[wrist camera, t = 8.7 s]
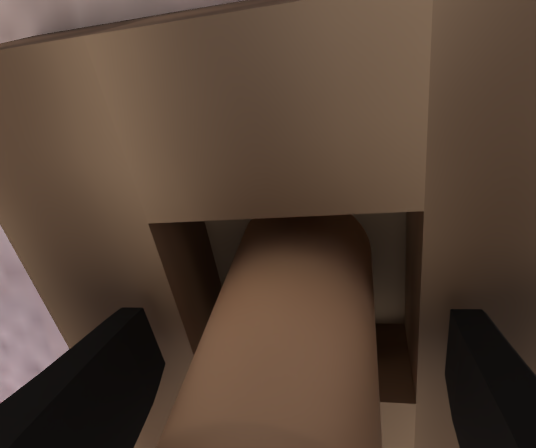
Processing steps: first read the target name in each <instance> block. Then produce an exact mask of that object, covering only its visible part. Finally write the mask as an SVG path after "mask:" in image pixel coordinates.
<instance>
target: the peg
mask: <svg viewBox="0 0 536 448" xmlns="http://www.w3.org/2000/svg"><path fill="white" fill-rule="evenodd" d="M156 448H382V432H381V414H380V397H379V379H378V361H377V344H376V326H375V308H374V291H373V273H372V255H371V246H370V242H369V239H368V236H367V234H366V232H365V230H364V228H363V227H362V225H361V224H360V223H359V222H358V221H357V220H356V218H355V217H354V216H352V215H351V214H349V215H327V216H304V217H282V218H260V219H251V221H250V222H249V224H248V225H247V228H246V230H245V232H244V234H243V237H242V239H241V242H240V244H239V247H238V249H237V251H236V254H235V256H234V259H233V261H232V264H231V266H230V269H229V271H228V273H227V276H226V278H225V281H224V283H223V286H222V288H221V291H220V293H219V295H218V298H217V300H216V303H215V305H214V308H213V310H212V313H211V315H210V317H209V320H208V322H207V325H206V327H205V330H204V332H203V335H202V337H201V339H200V342H199V344H198V347H197V349H196V352H195V354H194V357H193V359H192V361H191V364H190V366H189V369H188V371H187V374H186V376H185V379H184V381H183V383H182V386H181V388H180V391H179V393H178V396H177V398H176V401H175V403H174V405H173V408H172V410H171V413H170V415H169V418H168V420H167V423H166V425H165V427H164V430H163V432H162V435H161V437H160V440H159V442H158V445H157V447H156Z"/></svg>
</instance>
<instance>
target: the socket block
mask: <svg viewBox="0 0 536 448" xmlns="http://www.w3.org/2000/svg"><path fill="white" fill-rule="evenodd" d="M349 214H351V215H352V216H354V217H355V218H356V220H357V221H358V222H359V223H360V224H361V225H362V227H363V228H364V230H365V232H366V234H367V236H368V239H369V242H370V246H371V255H372V273H373V291H374V308H375V326H376V344H377V361H378V379H379V397H380V414H381V432H382V448H460V447H459V444H458V440H457V436H456V433H455V429H454V425H453V422H452V416H451V410H450V405H449V399H448V392H447V386H446V380H445V364H446V353H447V342H448V331H449V320H450V309H482V310H483V311H484V312H486V313H487V314H488V316H489V317H490V318H491V320H492V321H493V322H494V324H495V325H496V326H497V328H498V329H499V330H500V332H501V333H502V334H503V335H504V337H505V338H506V339H507V341H508V342H509V343H510V344H511V346H512V347H513V348H514V349H515V350H516V352H517V353H518V354H519V355H520V357H521V358H522V359H523V360H524V361H525V363H526V364H527V365H528V366H529V367H530V369H531V370H532V371H533V372H534V373H535V374H536V0H245V1H239V2H233V3H227V4H221V5H215V6H209V7H203V8H198V9H192V10H186V11H180V12H174V13H168V14H162V15H156V16H150V17H144V18H138V19H132V20H126V21H120V22H114V23H108V24H102V25H96V26H90V27H84V28H78V29H72V30H66V31H60V32H54V33H48V34H43V35H37V36H32V37H28V38H23V39H19V40H14V41H10V42H6V43H1V44H0V225H1V226H2V228H3V230H4V232H5V234H6V235H7V237H8V239H9V241H10V243H11V244H12V246H13V248H14V250H15V252H16V253H17V255H18V257H19V259H20V261H21V262H22V264H23V266H24V268H25V270H26V271H27V273H28V275H29V277H30V279H31V280H32V282H33V284H34V286H35V288H36V289H37V291H38V293H39V295H40V297H41V298H42V300H43V302H44V304H45V306H46V307H47V309H48V311H49V313H50V315H51V316H52V318H53V320H54V322H55V324H56V325H57V327H58V329H59V331H60V333H61V334H62V336H63V338H64V340H65V342H66V343H67V345H68V347H69V349H70V348H72V347H73V346H74V345H75V344H76V343H78V342H79V341H80V340H81V339H83V338H84V337H85V336H86V335H87V334H89V333H90V332H91V331H92V330H93V329H95V328H96V327H97V326H98V325H100V324H101V323H102V322H103V321H104V320H106V319H107V318H108V317H110V316H111V315H112V314H113V313H115V312H116V311H117V310H119V309H120V308H122V307H134V308H144V311H145V313H146V316H147V318H148V321H149V323H150V326H151V328H152V331H153V333H154V336H155V338H156V341H157V343H158V346H159V348H160V351H161V353H162V356H163V358H164V361H165V363H166V364H165V368H164V371H163V374H162V378H161V381H160V385H159V388H158V391H157V394H156V397H155V400H154V403H153V406H152V408H151V410H150V413H149V415H148V417H147V419H146V422H145V424H144V426H143V428H142V431H141V433H140V435H139V437H138V439H137V442H136V444H135V446H134V448H156V447H157V445H158V442H159V440H160V437H161V435H162V432H163V430H164V427H165V425H166V423H167V420H168V418H169V415H170V413H171V410H172V408H173V405H174V403H175V401H176V398H177V396H178V393H179V391H180V388H181V386H182V383H183V381H184V379H185V376H186V374H187V371H188V369H189V366H190V364H191V361H192V359H193V357H194V354H195V352H196V349H197V347H198V344H199V342H200V339H201V337H202V335H203V332H204V330H205V327H206V325H207V322H208V320H209V317H210V315H211V313H212V310H213V308H214V305H215V303H216V300H217V298H218V295H219V293H220V291H221V288H222V286H223V283H224V281H225V278H226V276H227V273H228V271H229V269H230V266H231V264H232V261H233V259H234V256H235V254H236V251H237V249H238V247H239V244H240V242H241V239H242V237H243V234H244V232H245V230H246V228H247V225H248V224H249V222H250V221H251V219H260V218H282V217H304V216H327V215H349Z"/></svg>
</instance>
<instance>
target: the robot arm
mask: <svg viewBox="0 0 536 448" xmlns="http://www.w3.org/2000/svg"><path fill="white" fill-rule="evenodd" d="M165 364H166V363H165V361H164V358H163V356H162V353H161V351H160V348H159V346H158V343H157V341H156V338H155V336H154V333H153V331H152V328H151V326H150V323H149V321H148V318H147V316H146V313H145V311H144V308H134V307H122V308H120V309H119V310H117V311H116V312H115V313H113V314H112V315H111V316H110V317H108V318H107V319H106V320H104V321H103V322H102V323H101V324H100V325H98V326H97V327H96V328H95V329H93V330H92V331H91V332H90V333H89V334H87V335H86V336H85V337H84V338H83V339H81V340H80V341H79V342H78V343H76V344H75V345H74V346H73V347H72V348H70V349H69V350H68V351H67V352H66V353H64V354H63V355H62V356H61V357H59V358H58V359H57V360H56V361H54V362H53V363H52V364H51V365H50V366H48V367H47V368H46V369H45V370H43V371H42V372H41V373H40V374H38V375H37V376H36V377H34V378H33V379H32V380H31V381H29V382H28V383H27V384H25V385H24V386H23V387H21V388H20V389H19V390H17V391H16V392H15V393H14V394H12V395H11V396H10V397H8V398H7V399H6V400H4V401H3V402H2V403H1V404H0V448H134V446H135V444H136V442H137V439H138V437H139V435H140V433H141V431H142V428H143V426H144V424H145V422H146V419H147V417H148V415H149V413H150V410H151V408H152V406H153V403H154V400H155V397H156V394H157V391H158V388H159V385H160V381H161V378H162V374H163V371H164V368H165ZM445 380H446V386H447V392H448V399H449V405H450V410H451V416H452V422H453V425H454V429H455V433H456V436H457V440H458V444H459V447H460V448H536V374H535V373H534V372H533V371H532V370H531V369H530V367H529V366H528V365H527V364H526V363H525V361H524V360H523V359H522V358H521V357H520V355H519V354H518V353H517V352H516V350H515V349H514V348H513V347H512V346H511V344H510V343H509V342H508V341H507V339H506V338H505V337H504V335H503V334H502V333H501V332H500V330H499V329H498V328H497V326H496V325H495V324H494V322H493V321H492V320H491V318H490V317H489V316H488V314H487V313H486V312H484V311H483V310H482V309H450V320H449V331H448V342H447V353H446V364H445Z"/></svg>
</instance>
